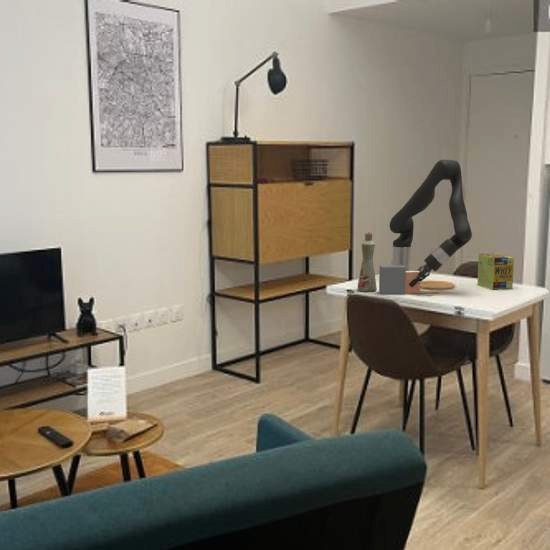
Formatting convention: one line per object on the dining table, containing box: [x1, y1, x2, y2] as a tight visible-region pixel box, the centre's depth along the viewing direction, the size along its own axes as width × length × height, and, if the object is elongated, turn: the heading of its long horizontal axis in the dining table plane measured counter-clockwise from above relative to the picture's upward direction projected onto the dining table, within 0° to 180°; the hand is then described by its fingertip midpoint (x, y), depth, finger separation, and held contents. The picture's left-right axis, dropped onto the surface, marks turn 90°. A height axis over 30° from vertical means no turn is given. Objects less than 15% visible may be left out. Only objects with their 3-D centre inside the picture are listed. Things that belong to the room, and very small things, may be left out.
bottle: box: [357, 231, 378, 293], centre depth 316 cm, size 9×9×28 cm
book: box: [405, 270, 421, 295], centre depth 311 cm, size 14×4×10 cm, turn 89°
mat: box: [418, 290, 446, 297], centre depth 311 cm, size 10×10×1 cm
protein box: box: [477, 253, 515, 291], centre depth 326 cm, size 10×15×16 cm
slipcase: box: [378, 264, 406, 296], centre depth 310 cm, size 11×6×13 cm, turn 89°
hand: (409, 285), depth 311 cm, fingers closed on book, 3 cm apart
